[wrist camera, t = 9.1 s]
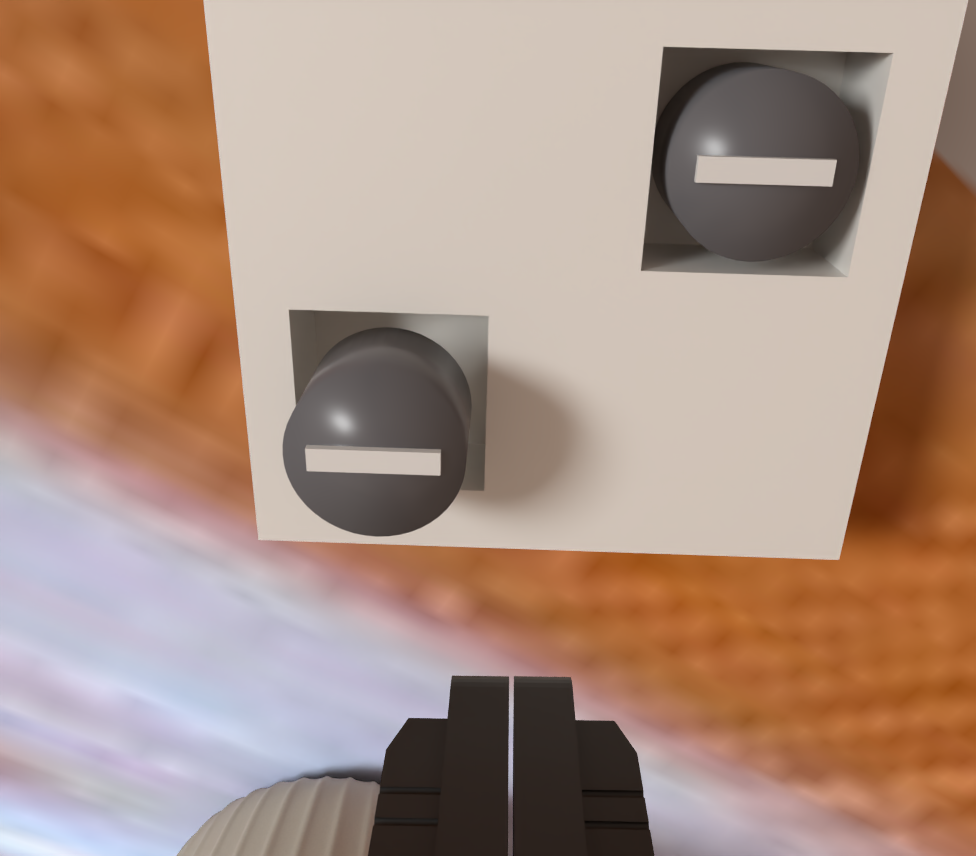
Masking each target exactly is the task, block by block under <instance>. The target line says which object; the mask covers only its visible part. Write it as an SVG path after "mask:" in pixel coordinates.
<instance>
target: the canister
mask: <svg viewBox="0 0 976 856" xmlns="http://www.w3.org/2000/svg"><path fill="white" fill-rule="evenodd" d="M379 793H380V784H377V783H376V782H375V781H371V782H363V781H358V780H355V779H353V778H351V777H349V778H345V779H338V778H331V777H329V776H325V777H323V778H319V779H309V778H305V777H303V778H300V779H298V780H297V781H293V782H278V783H276V784H274V785H273V786H272V787H270V788H260V789H257V790H255V791H253V792H251V793H250V794H249V795H247V796H246V797H242V798H239V799H236V800H235V801H233V802H231V803H230V804H229V805H227V806H226V807H225V808H224V809H223V810H222V811H220V812H218V813H216V814H215V815H213V816H212V817H211V818H210V819H208V820H207V821H206V822H205V823H204V824H203V825H202V827H201V828H200V829H199V830H198V831H197V832H196V833H195V834H194V835H193V836H192V837H191V838H190V839H189V840H188V841H187V843H186V844H185V845H184V846H183V847H182V849H181V850H180V852H179V853H178V854H177V856H368V851H369V846H370V840H371V834H372V828H373V825H374V817H375V811H376V805H377V800H378V794H379Z"/></svg>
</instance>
